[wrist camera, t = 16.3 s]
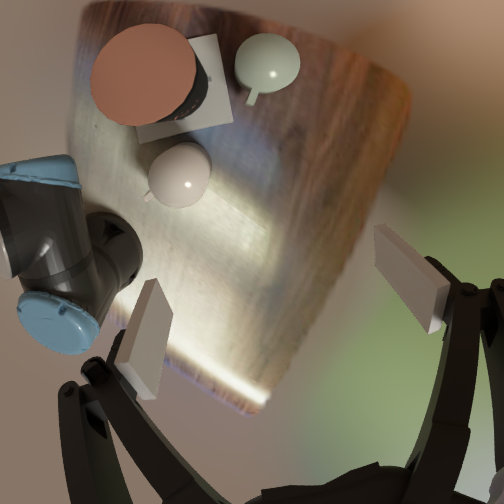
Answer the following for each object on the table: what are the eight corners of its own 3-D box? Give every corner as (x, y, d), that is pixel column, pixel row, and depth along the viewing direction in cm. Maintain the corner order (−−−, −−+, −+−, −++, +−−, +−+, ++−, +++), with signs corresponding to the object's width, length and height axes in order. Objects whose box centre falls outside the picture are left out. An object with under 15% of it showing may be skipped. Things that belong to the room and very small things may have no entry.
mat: (140, 144, 41) (139, 144, 41) (123, 59, 34) (122, 59, 34) (233, 121, 41) (233, 122, 40) (216, 34, 34) (216, 33, 34)
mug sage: (244, 41, 35) (248, 25, 27) (293, 59, 37) (308, 47, 29) (221, 98, 39) (219, 93, 31) (271, 114, 41) (281, 115, 33)
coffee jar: (139, 122, 39) (87, 130, 23) (143, 57, 34) (94, 31, 18) (206, 120, 40) (192, 125, 24) (211, 55, 35) (201, 19, 19)
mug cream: (194, 132, 41) (186, 136, 33) (221, 174, 45) (219, 187, 37) (142, 167, 43) (124, 180, 35) (169, 206, 47) (157, 226, 39)
